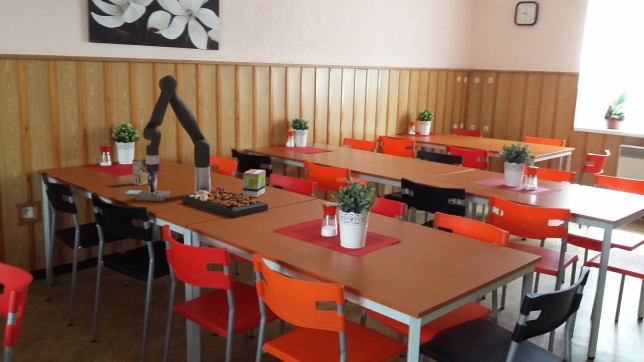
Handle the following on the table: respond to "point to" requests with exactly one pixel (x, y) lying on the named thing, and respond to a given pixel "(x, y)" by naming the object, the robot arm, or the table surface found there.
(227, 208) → the food platter
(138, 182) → the coffee box
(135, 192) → the teal square tile
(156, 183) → the cream rounded tapered piece
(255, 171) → the tea box
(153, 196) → the socket block
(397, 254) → the table surface
